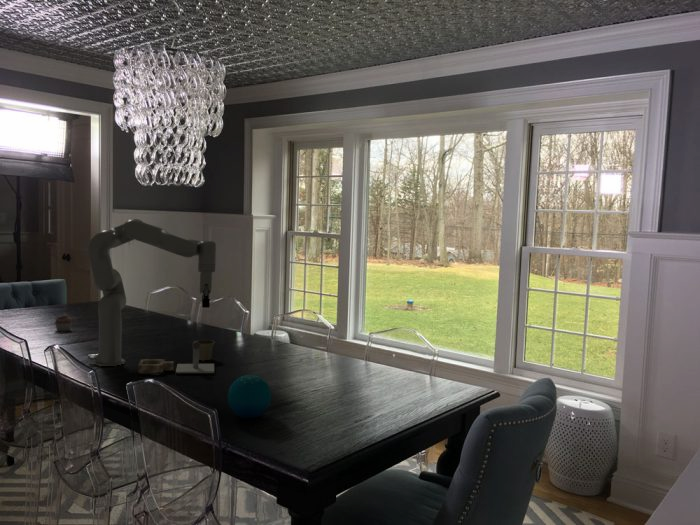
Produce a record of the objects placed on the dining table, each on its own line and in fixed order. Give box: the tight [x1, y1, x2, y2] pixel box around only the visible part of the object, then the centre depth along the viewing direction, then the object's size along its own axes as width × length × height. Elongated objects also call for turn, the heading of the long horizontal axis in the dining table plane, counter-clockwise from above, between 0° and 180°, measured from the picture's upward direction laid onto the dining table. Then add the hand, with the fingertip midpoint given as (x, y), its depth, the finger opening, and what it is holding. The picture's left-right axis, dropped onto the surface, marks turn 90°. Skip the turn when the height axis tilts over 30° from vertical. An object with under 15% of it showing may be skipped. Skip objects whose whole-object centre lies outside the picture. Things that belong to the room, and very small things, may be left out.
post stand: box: [175, 340, 215, 374], centre depth 266 cm, size 16×13×13 cm
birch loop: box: [137, 358, 174, 374], centre depth 262 cm, size 14×10×4 cm
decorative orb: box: [227, 374, 272, 419], centre depth 210 cm, size 15×15×15 cm
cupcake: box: [54, 312, 73, 333], centre depth 332 cm, size 9×9×10 cm
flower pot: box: [197, 339, 216, 361], centre depth 286 cm, size 9×9×9 cm
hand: (205, 305), depth 275 cm, fingers open, 9 cm apart
